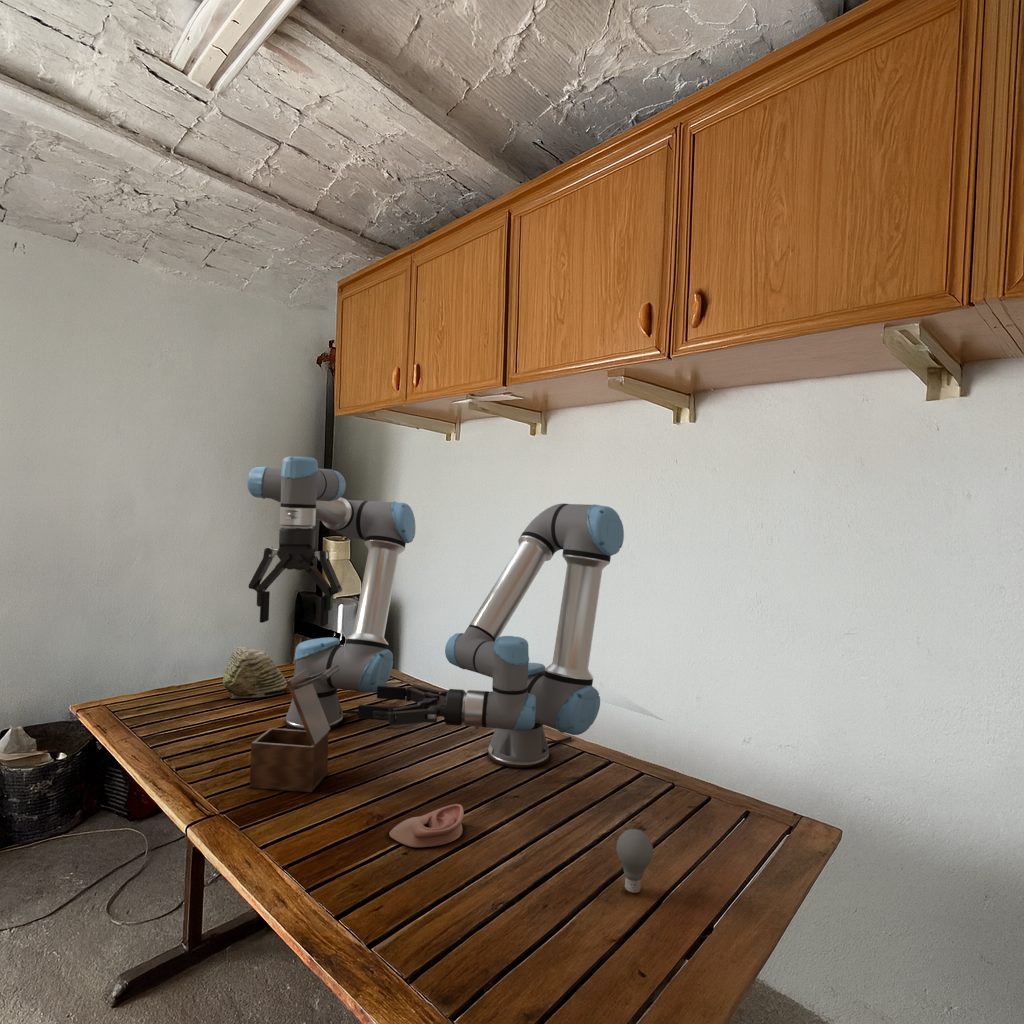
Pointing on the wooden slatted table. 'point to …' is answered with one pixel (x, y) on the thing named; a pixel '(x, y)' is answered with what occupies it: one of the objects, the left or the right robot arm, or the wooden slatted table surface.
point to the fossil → (252, 674)
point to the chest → (288, 761)
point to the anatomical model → (431, 828)
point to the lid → (310, 702)
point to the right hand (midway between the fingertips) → (368, 701)
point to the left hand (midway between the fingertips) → (294, 623)
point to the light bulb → (634, 857)
